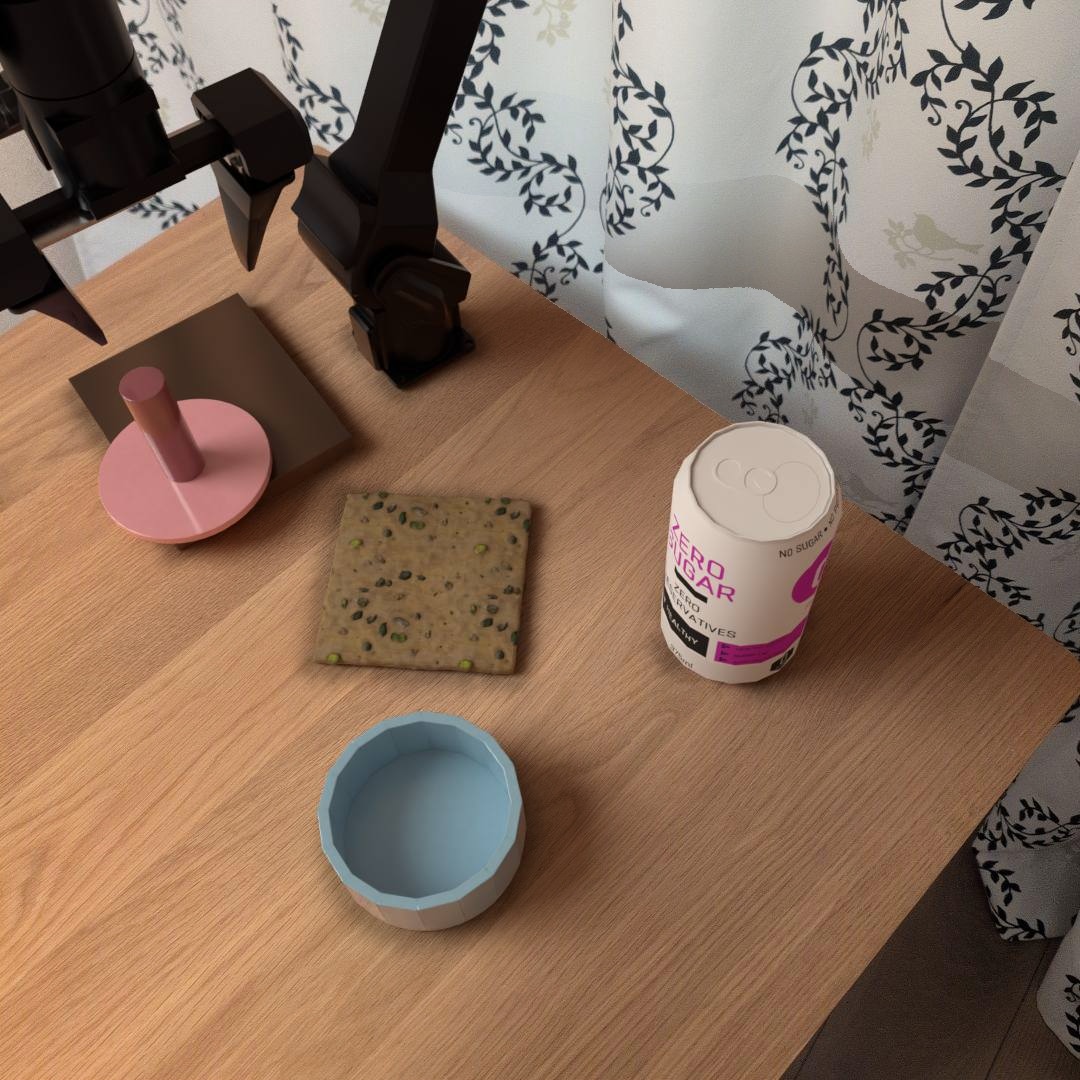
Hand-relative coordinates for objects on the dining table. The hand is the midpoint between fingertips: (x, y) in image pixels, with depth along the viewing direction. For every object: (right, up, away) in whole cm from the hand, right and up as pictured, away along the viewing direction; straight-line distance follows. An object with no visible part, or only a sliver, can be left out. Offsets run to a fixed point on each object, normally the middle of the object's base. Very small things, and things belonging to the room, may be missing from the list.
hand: (176, 302), depth 65 cm
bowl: (+15, -29, -4) cm, 33 cm away
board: (-1, -5, +12) cm, 13 cm away
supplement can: (+32, -19, +3) cm, 37 cm away
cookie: (+14, -16, +5) cm, 22 cm away
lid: (-2, -9, +7) cm, 12 cm away
